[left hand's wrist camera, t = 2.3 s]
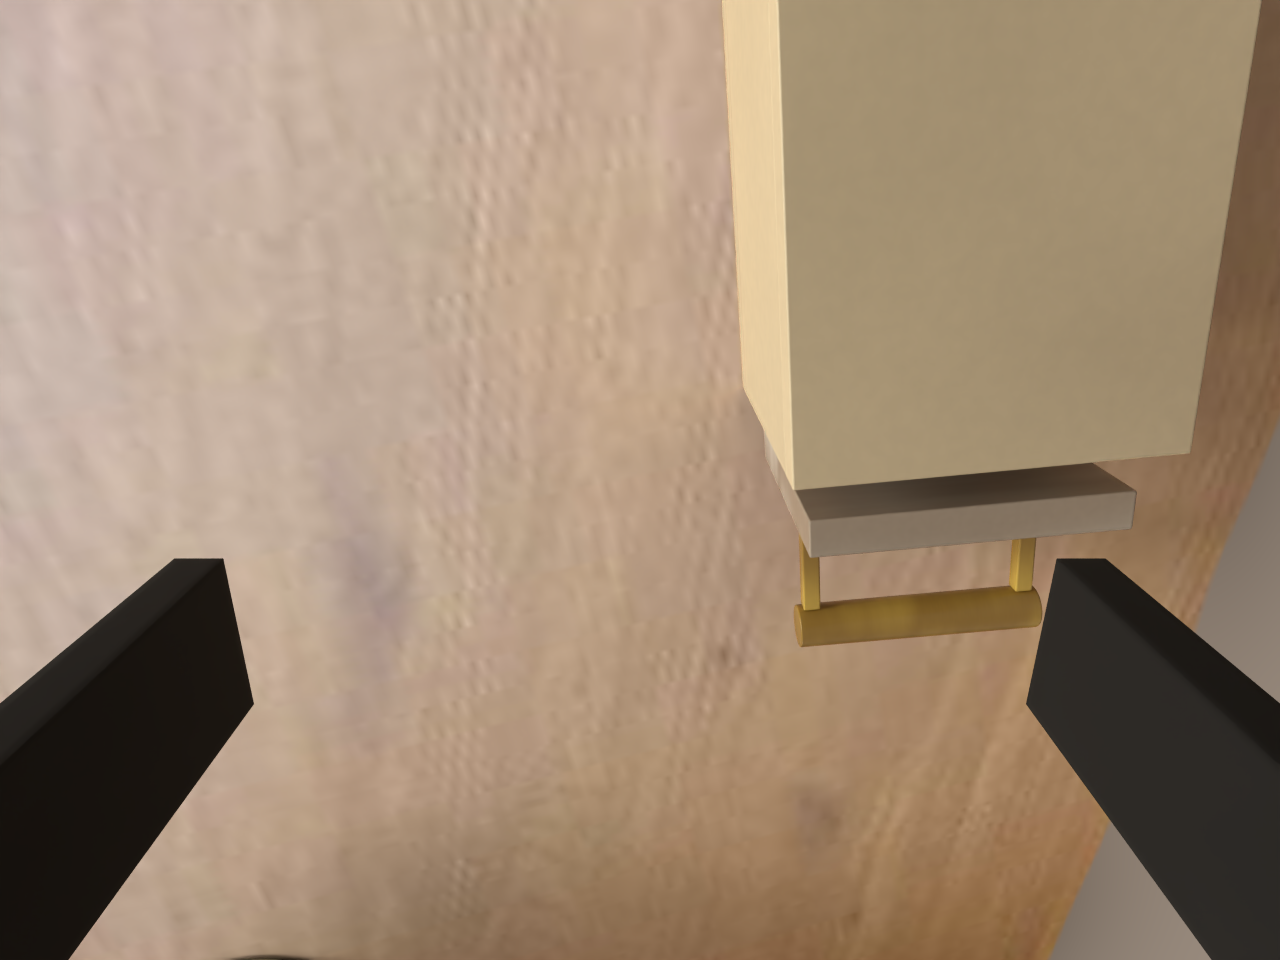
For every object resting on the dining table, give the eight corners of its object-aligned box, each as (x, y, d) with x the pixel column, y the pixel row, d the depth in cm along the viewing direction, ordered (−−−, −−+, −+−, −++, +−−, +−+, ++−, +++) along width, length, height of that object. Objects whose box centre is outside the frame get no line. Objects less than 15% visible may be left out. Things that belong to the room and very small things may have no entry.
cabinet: (1010, 362, 31) (1191, 454, 21) (743, 388, 31) (792, 491, 21) (1048, -186, 25) (1332, -434, 15) (713, -146, 25) (764, -360, 15)
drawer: (993, 570, 33) (1109, 700, 25) (771, 589, 33) (814, 724, 25) (1034, -42, 25) (1223, -144, 17) (743, -9, 25) (793, -93, 17)
